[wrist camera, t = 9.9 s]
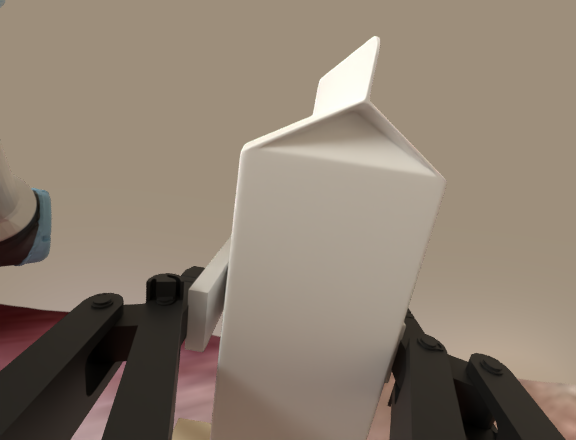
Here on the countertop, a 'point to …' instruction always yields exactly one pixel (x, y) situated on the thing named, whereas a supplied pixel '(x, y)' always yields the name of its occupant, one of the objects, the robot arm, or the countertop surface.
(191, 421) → the small table
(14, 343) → the countertop surface
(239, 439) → the milk
